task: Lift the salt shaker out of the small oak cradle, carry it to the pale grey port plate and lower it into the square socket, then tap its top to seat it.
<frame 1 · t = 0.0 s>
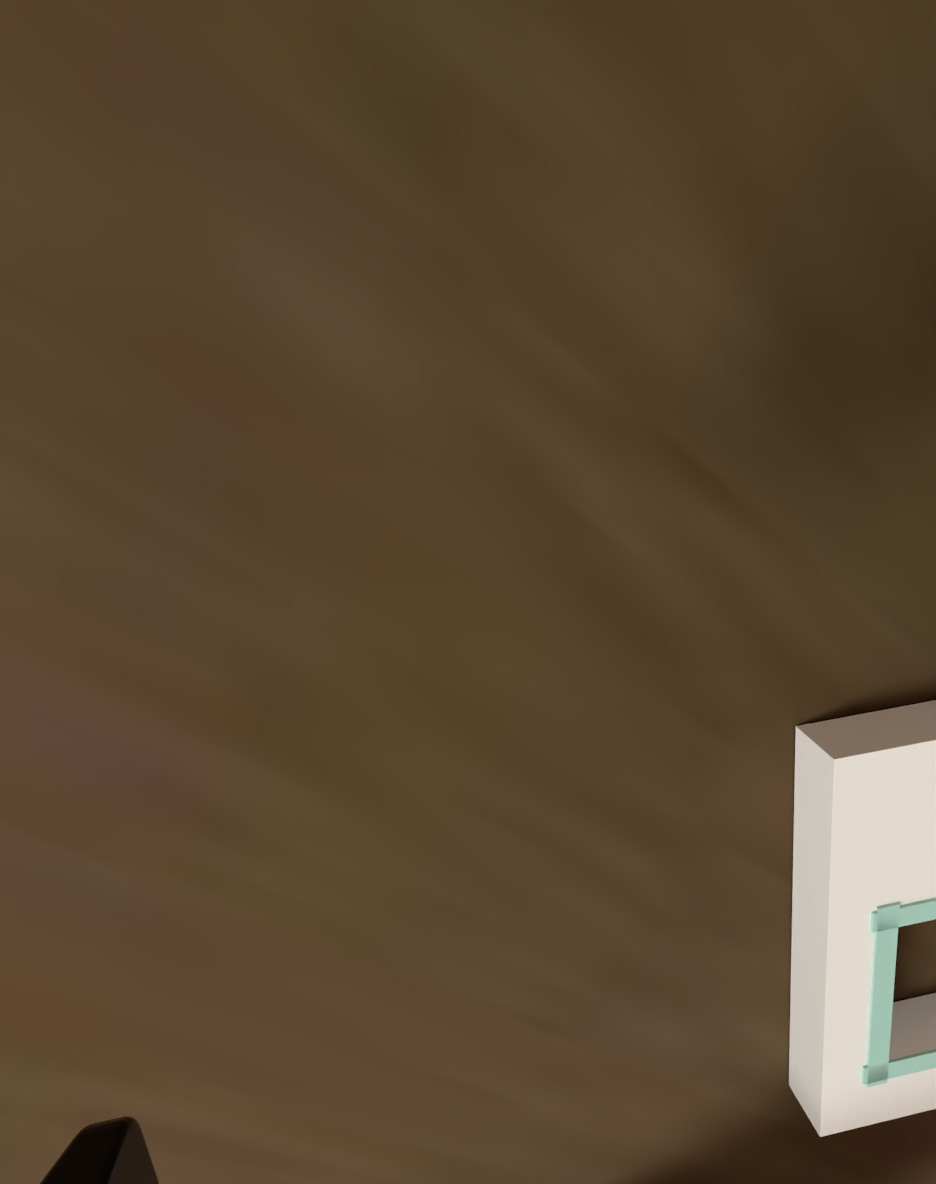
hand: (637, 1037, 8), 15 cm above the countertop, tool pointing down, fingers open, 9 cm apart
port plate: (928, 933, 28), on the countertop
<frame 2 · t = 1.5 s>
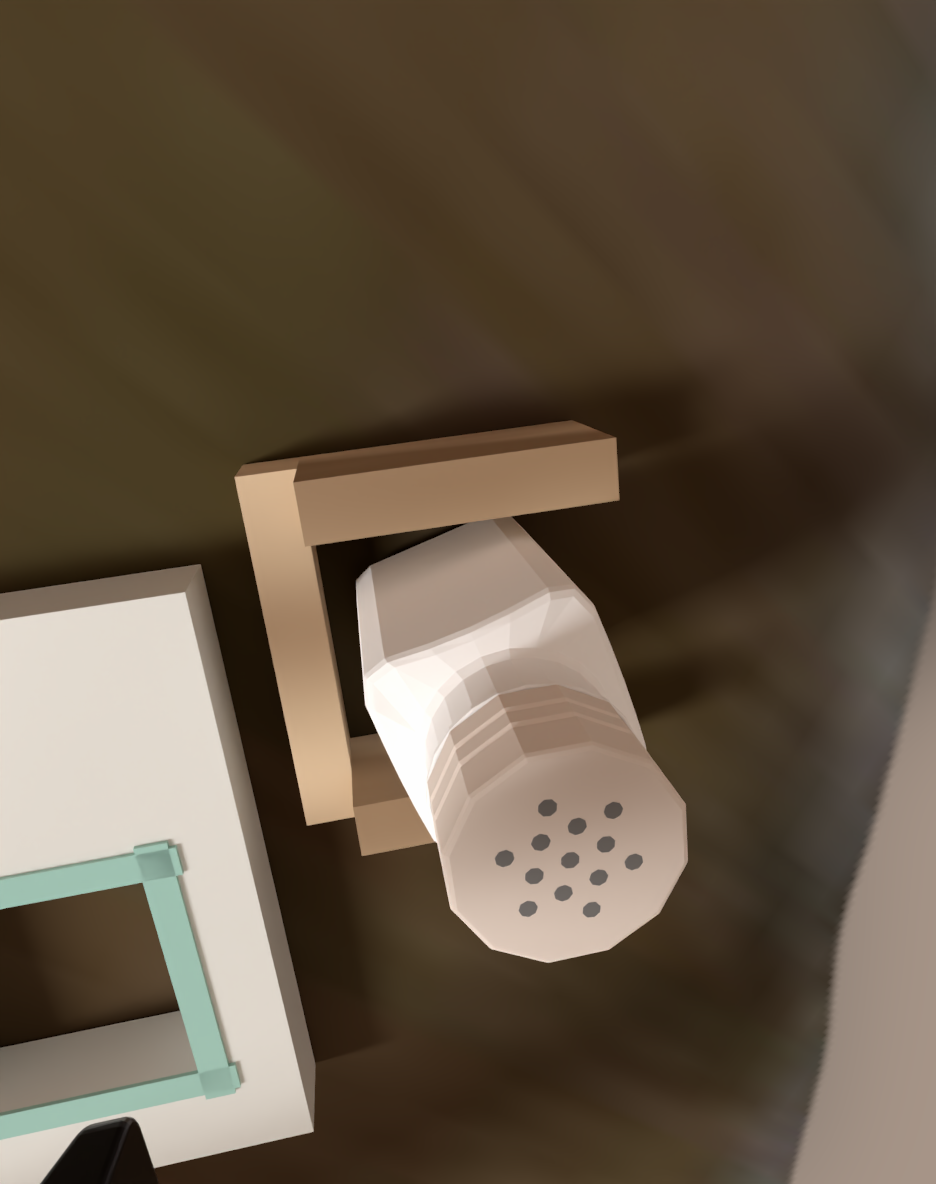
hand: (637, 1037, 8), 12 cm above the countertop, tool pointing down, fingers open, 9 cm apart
cradle: (459, 609, 19), on the countertop
port plate: (73, 941, 20), on the countertop
salt shaker: (458, 606, 19), on the countertop
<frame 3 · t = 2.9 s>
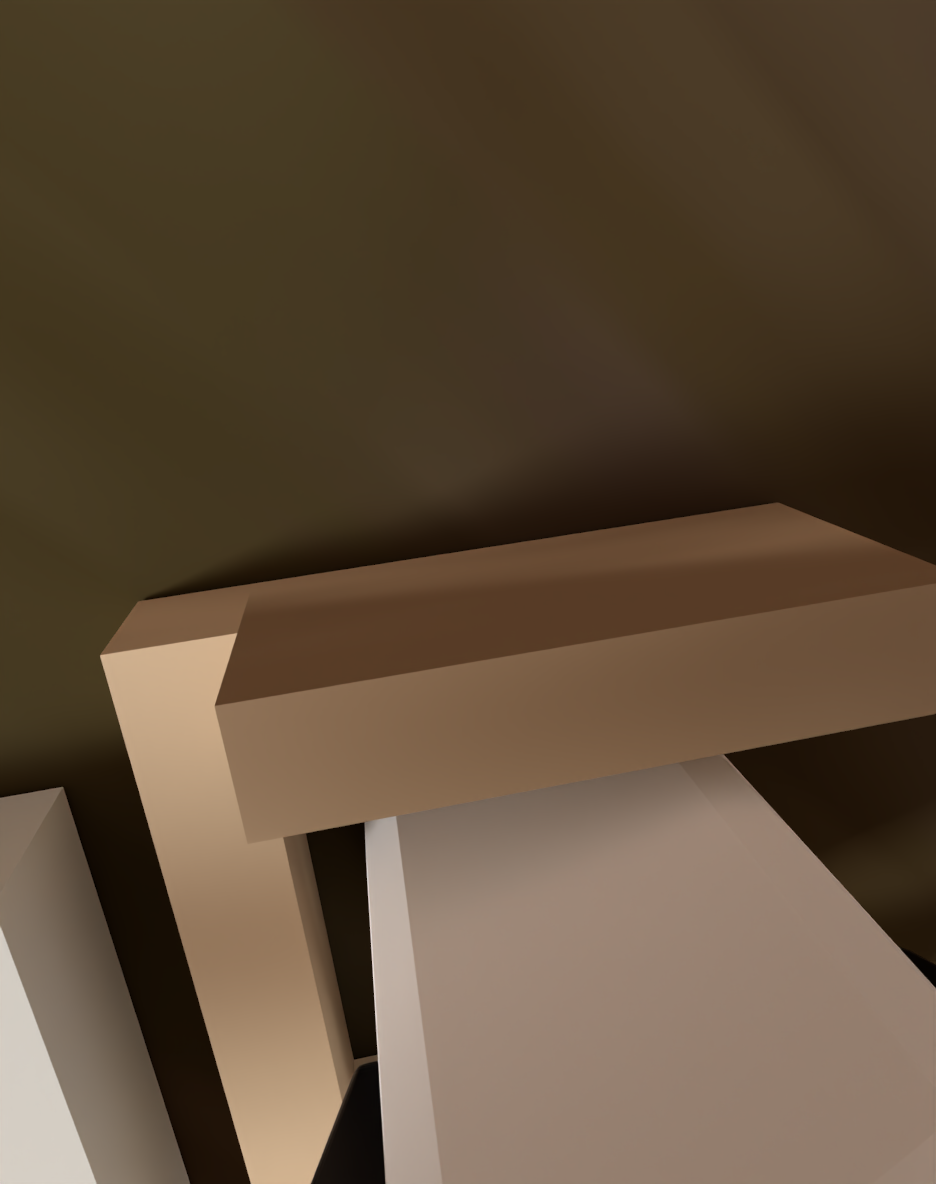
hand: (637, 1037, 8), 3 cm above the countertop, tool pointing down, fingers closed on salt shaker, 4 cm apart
cradle: (553, 842, 10), on the countertop
salt shaker: (549, 833, 11), on the countertop, touching gripper
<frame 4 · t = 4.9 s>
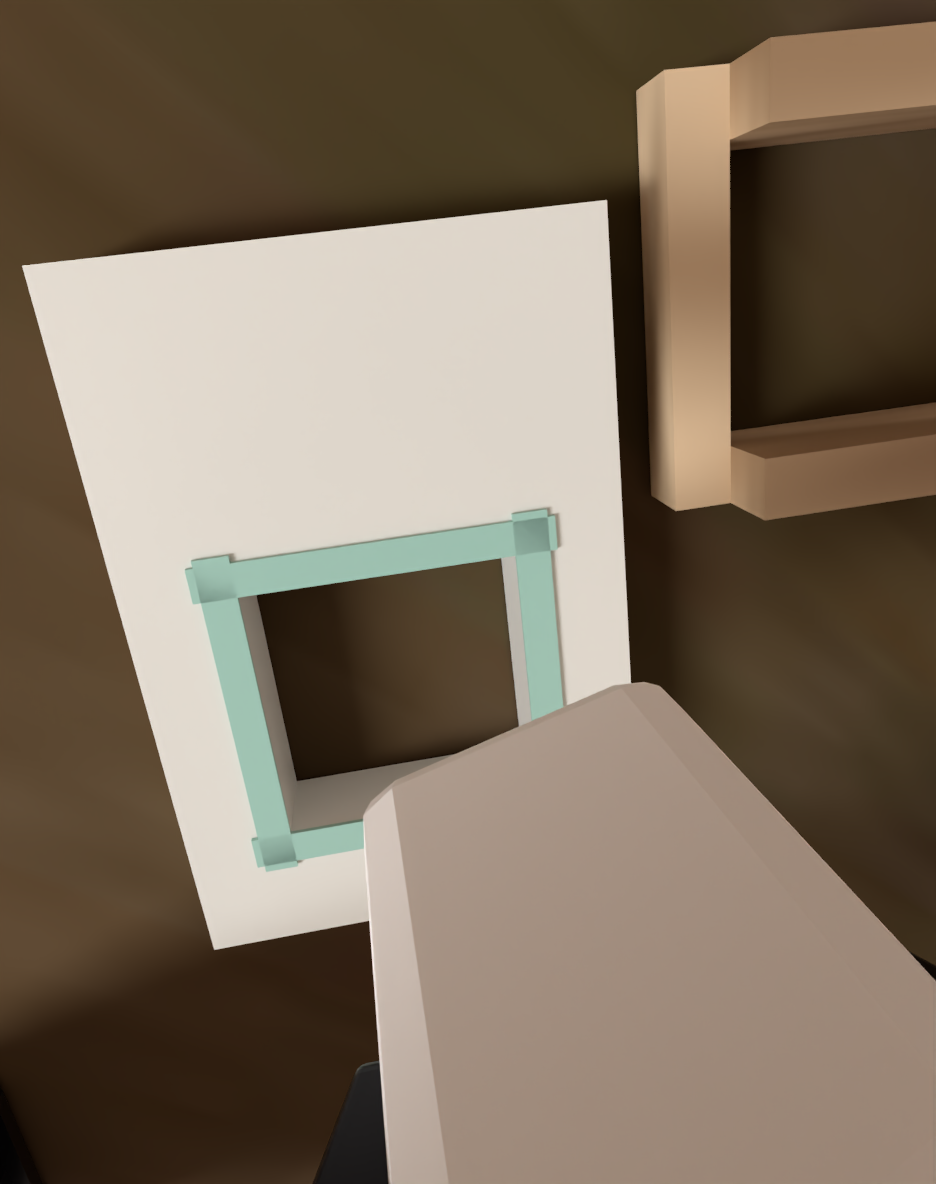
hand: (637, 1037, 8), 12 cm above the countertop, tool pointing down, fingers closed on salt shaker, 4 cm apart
cradle: (833, 285, 17), on the countertop
port plate: (393, 659, 19), on the countertop
salt shaker: (547, 832, 11), point 9 cm above the countertop, touching gripper
when the fingers open (3 cm above the countertop, at t = 7.2 s): salt shaker stays where it is, on the countertop.
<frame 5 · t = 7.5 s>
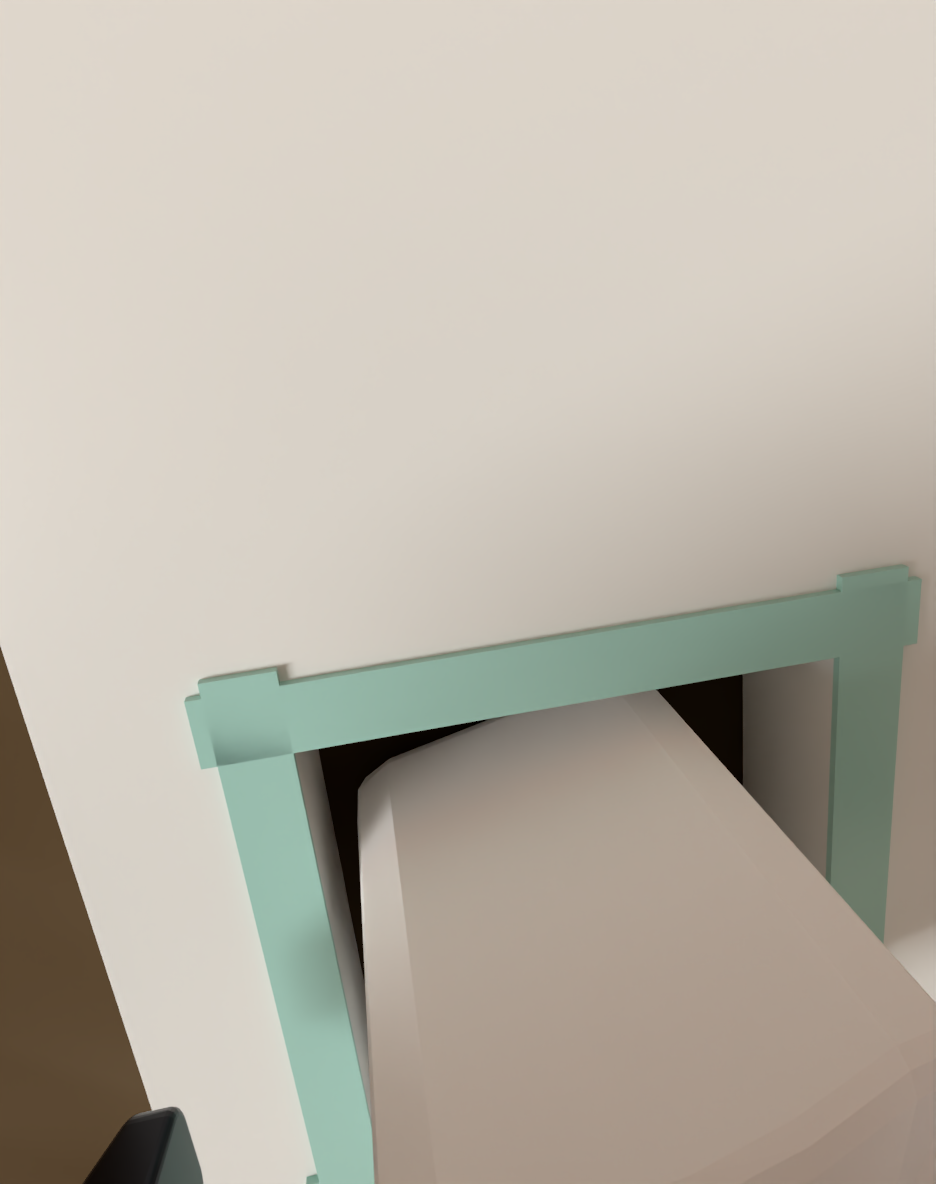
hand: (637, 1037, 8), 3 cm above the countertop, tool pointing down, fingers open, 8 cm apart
port plate: (546, 819, 11), on the countertop
salt shaker: (532, 816, 11), on the countertop
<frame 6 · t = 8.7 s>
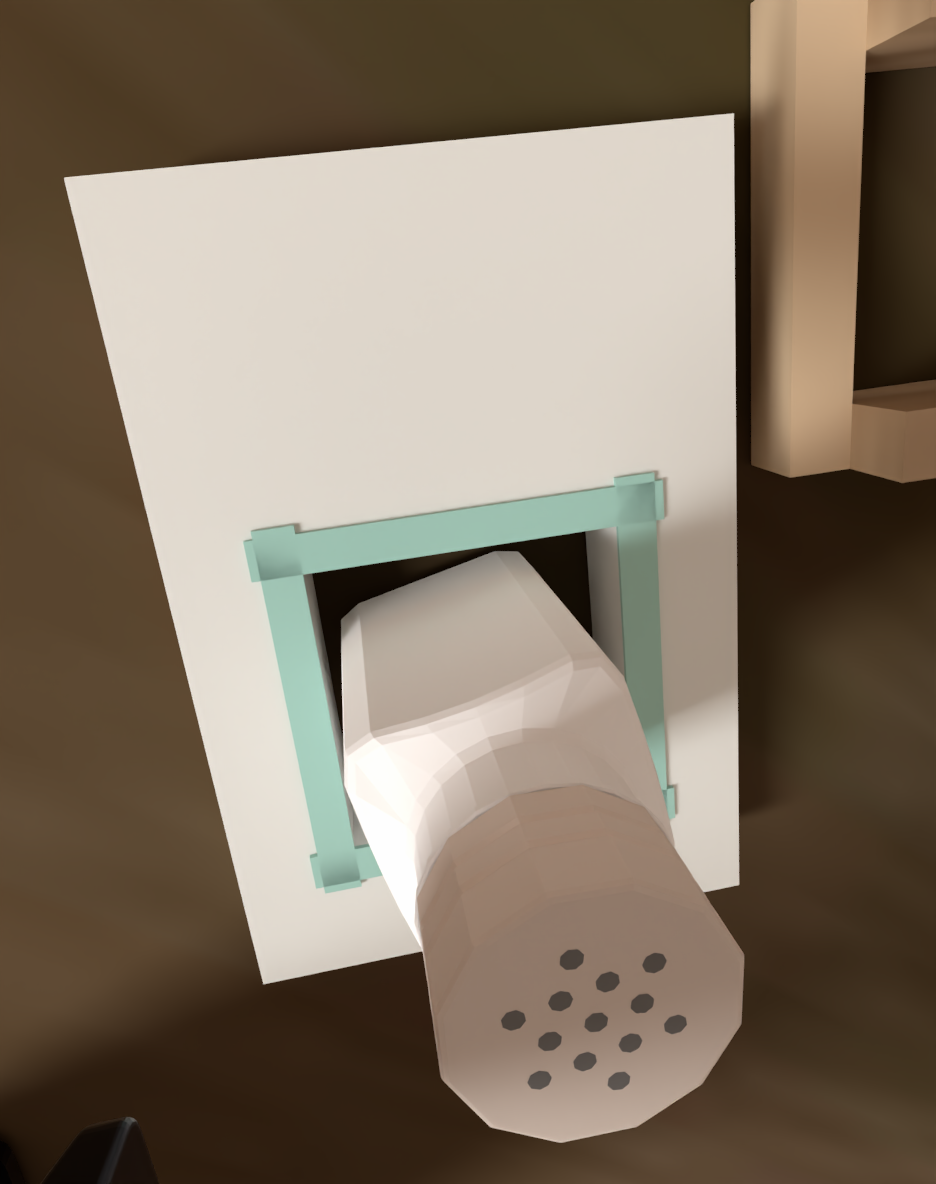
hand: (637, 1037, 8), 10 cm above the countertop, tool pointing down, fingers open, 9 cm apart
port plate: (463, 651, 17), on the countertop
salt shaker: (455, 651, 17), on the countertop
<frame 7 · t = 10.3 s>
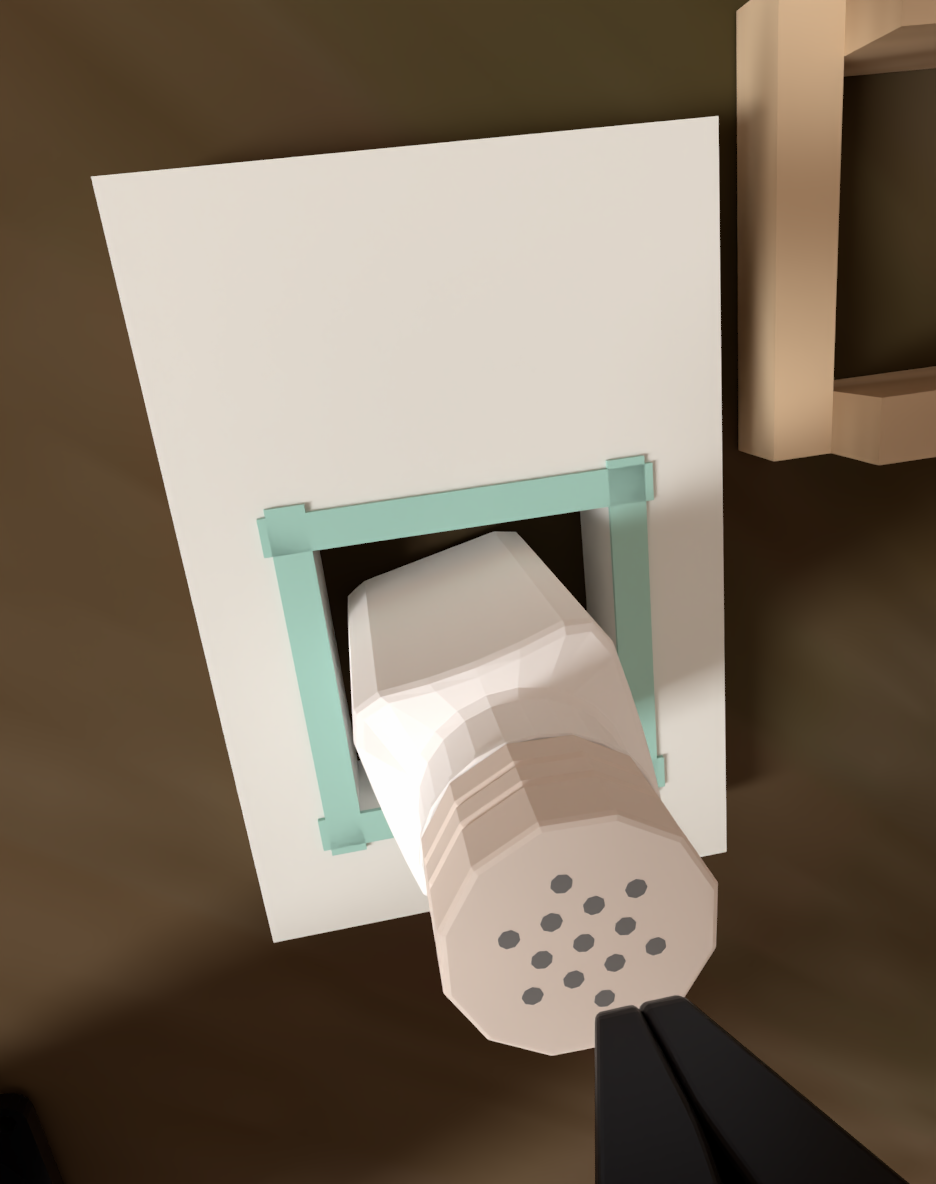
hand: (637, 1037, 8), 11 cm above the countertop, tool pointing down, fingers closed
cradle: (933, 225, 17), on the countertop
port plate: (464, 627, 18), on the countertop
salt shaker: (456, 627, 18), on the countertop
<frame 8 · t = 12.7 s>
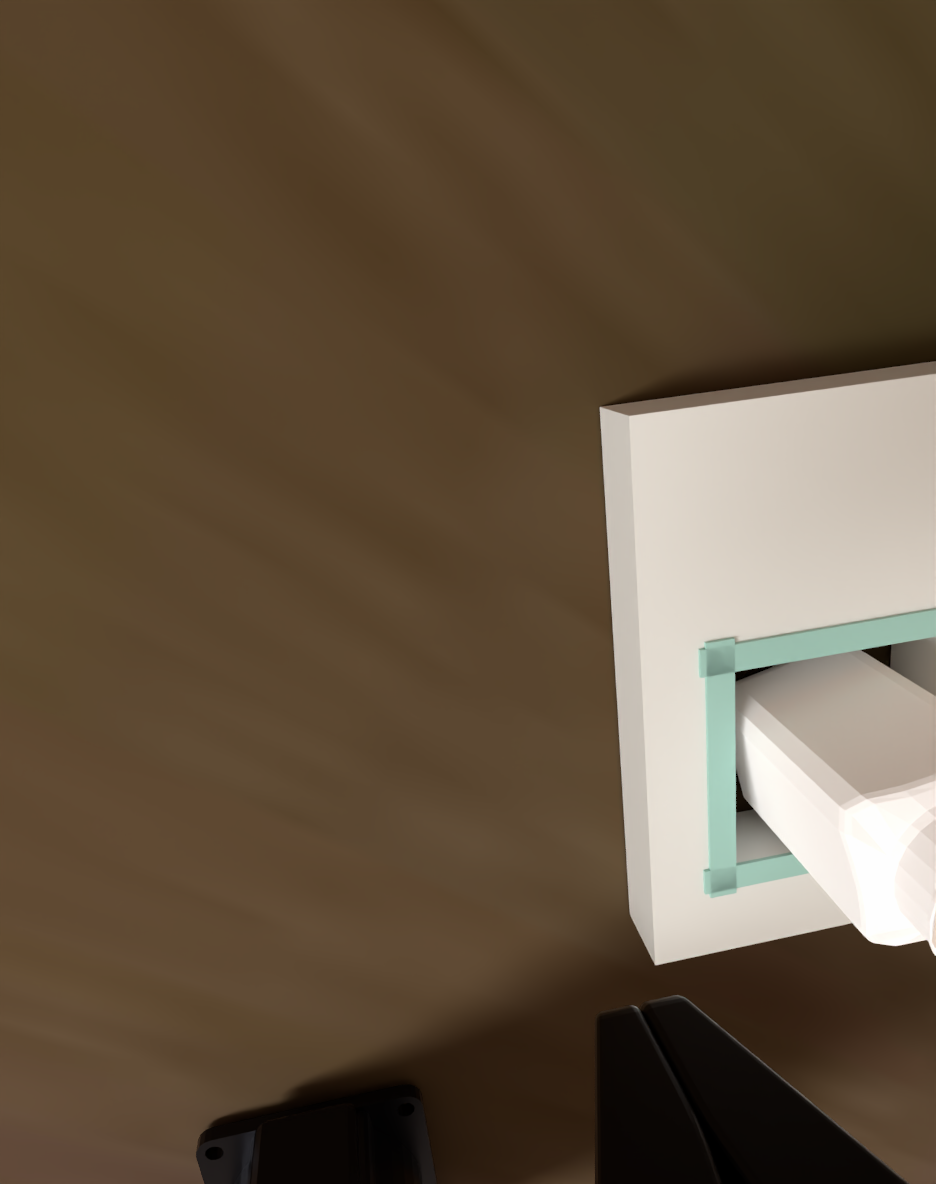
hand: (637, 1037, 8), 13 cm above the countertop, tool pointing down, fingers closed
port plate: (795, 715, 22), on the countertop
salt shaker: (785, 714, 23), on the countertop
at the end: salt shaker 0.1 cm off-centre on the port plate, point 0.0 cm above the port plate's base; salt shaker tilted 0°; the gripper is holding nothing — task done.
